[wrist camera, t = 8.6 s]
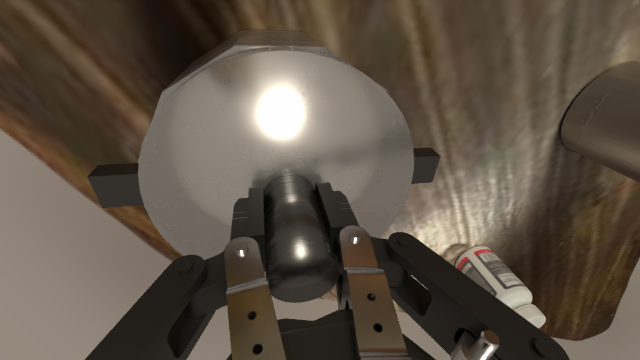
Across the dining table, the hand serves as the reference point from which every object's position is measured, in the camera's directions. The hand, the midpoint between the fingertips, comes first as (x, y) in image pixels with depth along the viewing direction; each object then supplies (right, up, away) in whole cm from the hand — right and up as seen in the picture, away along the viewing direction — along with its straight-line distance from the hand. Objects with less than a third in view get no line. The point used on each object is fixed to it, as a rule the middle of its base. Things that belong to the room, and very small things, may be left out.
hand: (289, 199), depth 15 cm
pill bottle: (+23, -10, +24) cm, 34 cm away
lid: (0, +1, +2) cm, 2 cm away
